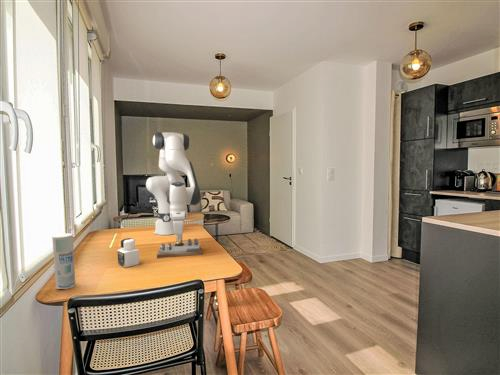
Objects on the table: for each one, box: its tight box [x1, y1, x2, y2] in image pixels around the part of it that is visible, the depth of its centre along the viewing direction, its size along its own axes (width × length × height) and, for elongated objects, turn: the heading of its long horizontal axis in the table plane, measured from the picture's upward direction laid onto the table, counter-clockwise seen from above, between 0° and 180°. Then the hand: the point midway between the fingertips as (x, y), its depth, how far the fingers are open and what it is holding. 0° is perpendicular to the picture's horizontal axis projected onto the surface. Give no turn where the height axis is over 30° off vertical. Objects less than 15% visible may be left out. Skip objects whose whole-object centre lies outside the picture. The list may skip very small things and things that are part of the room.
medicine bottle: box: [117, 237, 140, 269], centre depth 136 cm, size 7×7×12 cm
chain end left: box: [158, 242, 187, 254], centre depth 152 cm, size 7×14×4 cm, turn 103°
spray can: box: [52, 232, 76, 290], centre depth 111 cm, size 6×6×20 cm
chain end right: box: [172, 238, 200, 252], centre depth 154 cm, size 7×14×5 cm, turn 103°
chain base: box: [156, 245, 203, 259], centre depth 153 cm, size 11×22×2 cm, turn 103°
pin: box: [175, 234, 184, 246], centre depth 153 cm, size 3×3×10 cm
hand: (179, 239), depth 153 cm, fingers closed on pin, 3 cm apart
